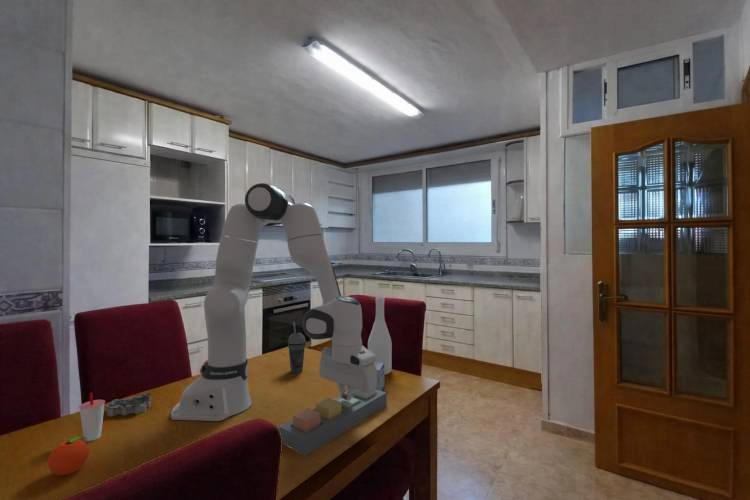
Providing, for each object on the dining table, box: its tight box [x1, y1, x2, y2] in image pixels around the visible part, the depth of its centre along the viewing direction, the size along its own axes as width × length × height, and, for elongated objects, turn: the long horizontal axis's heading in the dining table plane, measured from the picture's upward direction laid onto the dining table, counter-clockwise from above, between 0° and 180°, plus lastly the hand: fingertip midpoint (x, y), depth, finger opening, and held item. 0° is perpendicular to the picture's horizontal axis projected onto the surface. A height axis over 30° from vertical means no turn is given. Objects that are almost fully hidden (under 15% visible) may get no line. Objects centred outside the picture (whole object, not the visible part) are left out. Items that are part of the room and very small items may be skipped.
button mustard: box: [315, 397, 341, 420], centre depth 98 cm, size 5×5×4 cm
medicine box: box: [374, 363, 385, 392], centre depth 123 cm, size 8×4×9 cm, turn 168°
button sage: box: [337, 398, 359, 409], centre depth 104 cm, size 5×5×4 cm
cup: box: [78, 392, 106, 442], centre depth 92 cm, size 5×5×12 cm
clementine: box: [47, 436, 90, 476], centre depth 79 cm, size 8×7×7 cm
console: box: [278, 389, 388, 457], centre depth 101 cm, size 34×10×4 cm, turn 143°
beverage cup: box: [287, 321, 307, 374], centre depth 141 cm, size 7×7×20 cm
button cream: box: [353, 388, 376, 399], centre depth 111 cm, size 5×5×4 cm
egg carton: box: [105, 392, 153, 417], centre depth 107 cm, size 11×8×4 cm
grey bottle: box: [367, 296, 393, 376], centre depth 141 cm, size 10×10×30 cm
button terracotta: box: [292, 407, 321, 433], centre depth 91 cm, size 5×5×4 cm
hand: (346, 398), depth 104 cm, fingers closed
